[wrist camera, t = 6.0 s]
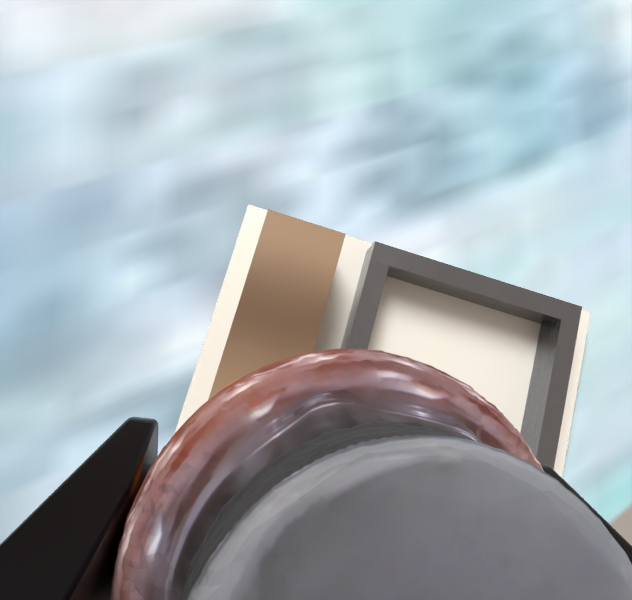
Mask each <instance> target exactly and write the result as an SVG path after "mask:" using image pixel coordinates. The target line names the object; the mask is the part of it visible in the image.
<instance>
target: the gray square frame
mask: <svg viewBox="0 0 632 600" xmlns="http://www.w3.org/2000/svg"><path fill="white" fill-rule="evenodd" d="M386 276H388V277H392V278H395V279H398V280H401V281H405V282H408V283H411V284H414V285H417V286H421V287H424V288H427V289H430V290H433V291H437V292H440V293H443V294H446V295H450V296H453V297H456V298H459V299H462V300H466V301H469V302H472V303H475V304H479V305H482V306H485V307H488V308H491V309H495V310H498V311H501V312H504V313H508V314H511V315H514V316H517V317H520V318H524V319H527V320H530V321H533V322H536V323H540V324H541V327H540V332H539V337H538V342H537V348H536V353H535V358H534V363H533V369H532V374H531V379H530V384H529V390H528V395H527V400H526V405H525V411H524V416H523V421H522V426H521V432H520V434H521V436H522V437H523V439H524V440H525V442H526V443H527V444H528V446H529V447H530V448H531V450H532V451H533V453H534V455H535V457H536V459H537V461H538V462H539V463H541V464H546V465H548V466H550V467H551V468H552V469H553V470H554V464H555V459H556V453H557V447H558V442H559V436H560V430H561V424H562V419H563V413H564V407H565V402H566V396H567V390H568V384H569V379H570V373H571V367H572V362H573V356H574V350H575V345H576V339H577V333H578V327H579V322H580V316H581V310H582V307H581V306H578V305H575V304H571V303H568V302H565V301H562V300H559V299H556V298H552V297H549V296H546V295H543V294H540V293H537V292H533V291H530V290H527V289H524V288H521V287H518V286H514V285H511V284H508V283H505V282H502V281H499V280H496V279H492V278H489V277H486V276H483V275H480V274H477V273H473V272H470V271H467V270H464V269H461V268H458V267H454V266H451V265H448V264H445V263H442V262H439V261H435V260H432V259H429V258H426V257H423V256H420V255H416V254H413V253H410V252H407V251H404V250H401V249H397V248H394V247H391V246H388V245H385V244H382V243H379V242H374V243H373V244H372V245H371V247H370V248H369V249H368V250H367V251H366V254H365V258H364V262H363V266H362V269H361V273H360V277H359V280H358V284H357V288H356V292H355V295H354V299H353V303H352V307H351V310H350V314H349V318H348V322H347V325H346V329H345V333H344V336H343V340H342V344H341V348H340V349H344V350H346V349H350V348H351V349H366V350H367V349H368V346H369V342H370V338H371V334H372V330H373V326H374V322H375V318H376V314H377V311H378V307H379V303H380V299H381V295H382V291H383V287H384V283H385V279H386Z"/></svg>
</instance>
